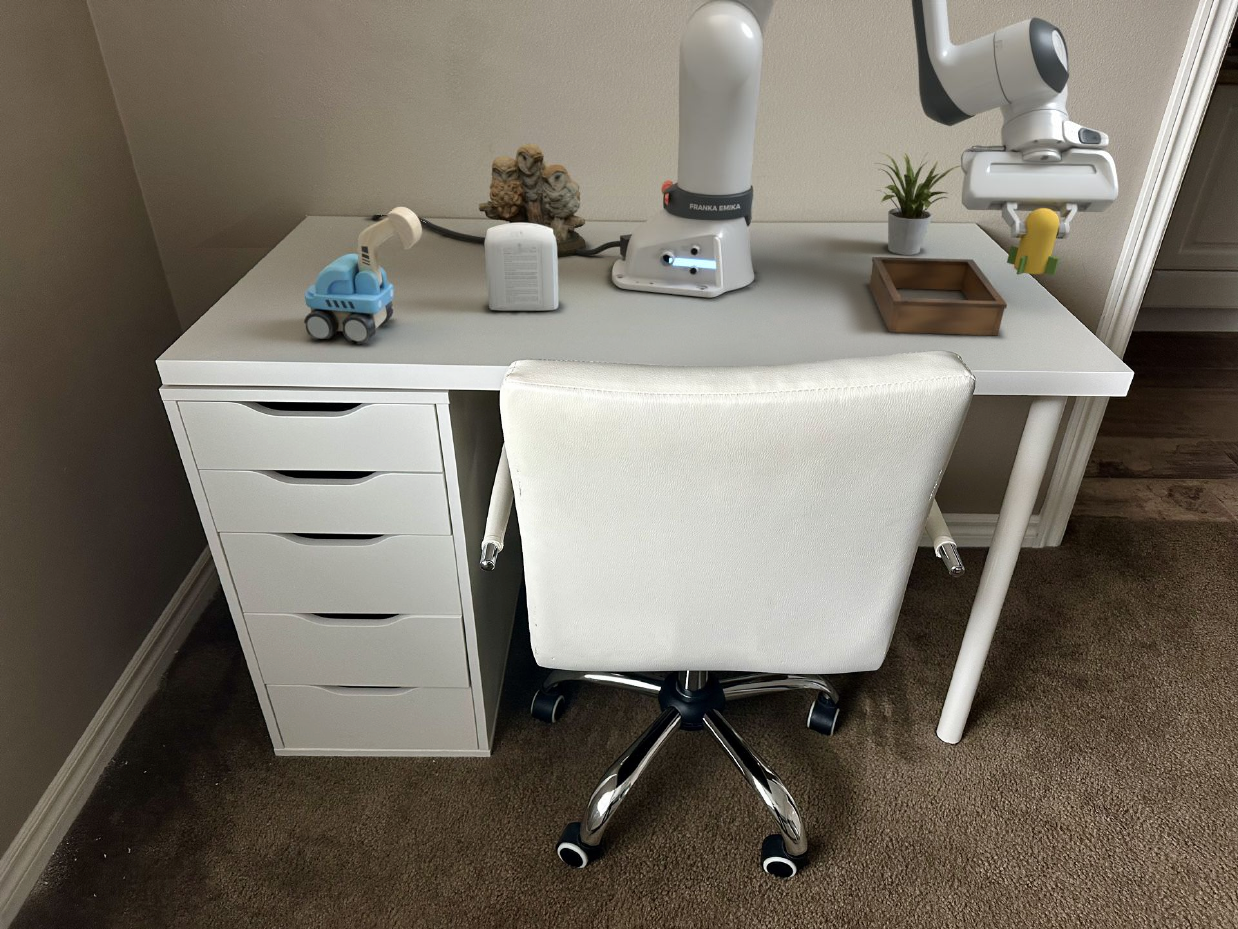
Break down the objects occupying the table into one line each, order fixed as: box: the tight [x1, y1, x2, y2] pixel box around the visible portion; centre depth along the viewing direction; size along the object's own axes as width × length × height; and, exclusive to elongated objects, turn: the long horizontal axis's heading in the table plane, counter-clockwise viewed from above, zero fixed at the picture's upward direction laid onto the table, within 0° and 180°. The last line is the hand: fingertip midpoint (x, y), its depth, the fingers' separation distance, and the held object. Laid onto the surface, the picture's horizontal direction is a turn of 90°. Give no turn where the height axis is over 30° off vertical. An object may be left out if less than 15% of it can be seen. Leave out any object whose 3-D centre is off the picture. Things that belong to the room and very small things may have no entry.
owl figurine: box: [478, 142, 587, 258], centre depth 147 cm, size 18×12×17 cm, turn 88°
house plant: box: [874, 151, 961, 256], centre depth 146 cm, size 14×14×16 cm
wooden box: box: [868, 256, 1008, 336], centre depth 126 cm, size 15×18×5 cm
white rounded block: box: [483, 222, 560, 311], centre depth 125 cm, size 10×4×12 cm, turn 92°
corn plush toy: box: [1006, 208, 1060, 276], centre depth 122 cm, size 5×5×8 cm
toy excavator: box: [303, 206, 423, 345], centre depth 116 cm, size 9×17×17 cm, turn 80°
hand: (1040, 236), depth 121 cm, fingers closed on corn plush toy, 4 cm apart
